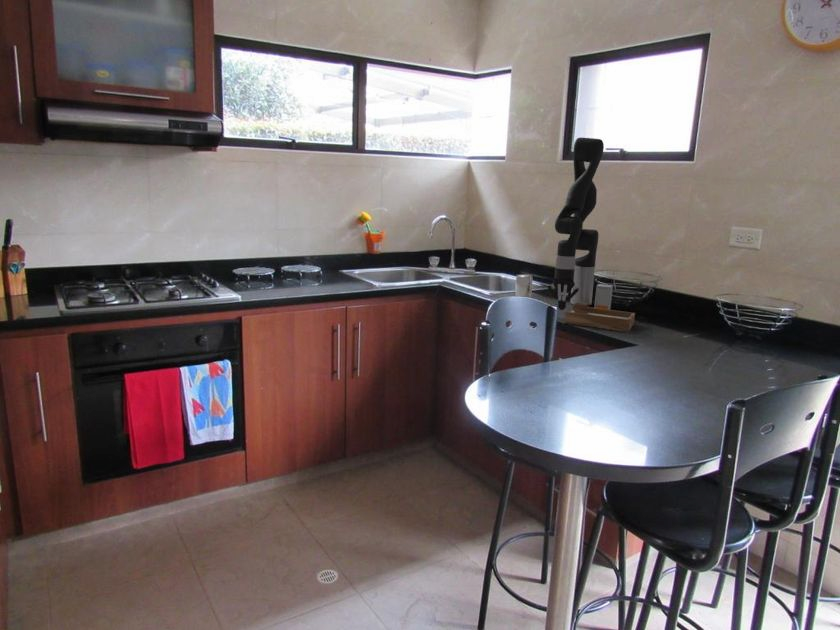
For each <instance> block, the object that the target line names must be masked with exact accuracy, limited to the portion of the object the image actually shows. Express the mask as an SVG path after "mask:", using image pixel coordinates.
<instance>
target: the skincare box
mask: <svg viewBox="0 0 840 630" xmlns="http://www.w3.org/2000/svg"><path fill="white" fill-rule="evenodd" d="M613 288H614V285H612V284H609V285H608V284H600V283H598V284H597V285H596V290H595V299H594V307H593V308H599V309H607V310H611V307H612V306H611V305H612V297H613V290H614V289H613Z"/></svg>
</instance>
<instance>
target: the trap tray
mask: <svg viewBox="0 0 840 630" xmlns="http://www.w3.org/2000/svg"><path fill="white" fill-rule="evenodd" d="M574 307H575V305H574V304H572V310H571V311H565V312H564V319H563V321H564V322H563V324H565V323H569V324H568V325H572V324H577V325H576V326H580V325H582V326H581V327H587V326H589V328H595V327H598V328H597V329H602V328H606V329H605V330H610V329H612V331H617V330H618V332H626V333H629V332H630V330H631V328H633V326H634V325H635V316H636V312H630V311H622V310H614V309H610V310H607V309H599V308H594V307H589V306H588V312H587V314H581V313H574Z"/></svg>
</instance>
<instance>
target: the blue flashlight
mask: <svg viewBox="0 0 840 630" xmlns="http://www.w3.org/2000/svg"><path fill="white" fill-rule="evenodd" d="M514 288H515V289H514V290H515V291H514V292H515V297H516V296H521V297H530V298H531V295H532V291H533V275H531V274H530V275H529V274H516V278H515V286H514Z"/></svg>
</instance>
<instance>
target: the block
mask: <svg viewBox="0 0 840 630" xmlns="http://www.w3.org/2000/svg"><path fill="white" fill-rule="evenodd" d="M574 306H575V307H574V313H581V314H587V312H588V307H589V305H588V303H580V302H576V303H575V305H574Z"/></svg>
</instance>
